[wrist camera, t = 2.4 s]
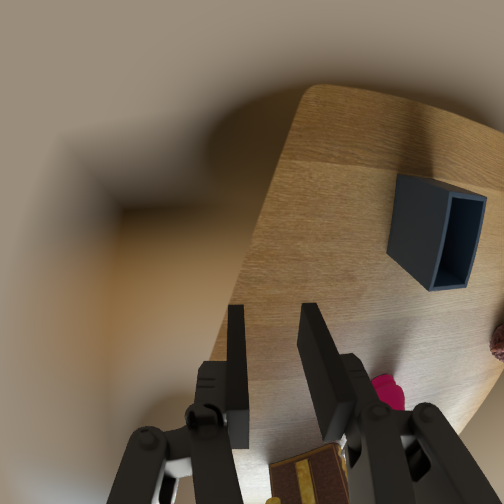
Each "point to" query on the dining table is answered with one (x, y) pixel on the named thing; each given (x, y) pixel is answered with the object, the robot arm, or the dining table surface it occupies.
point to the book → (310, 478)
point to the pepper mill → (389, 391)
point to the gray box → (435, 231)
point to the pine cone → (498, 343)
